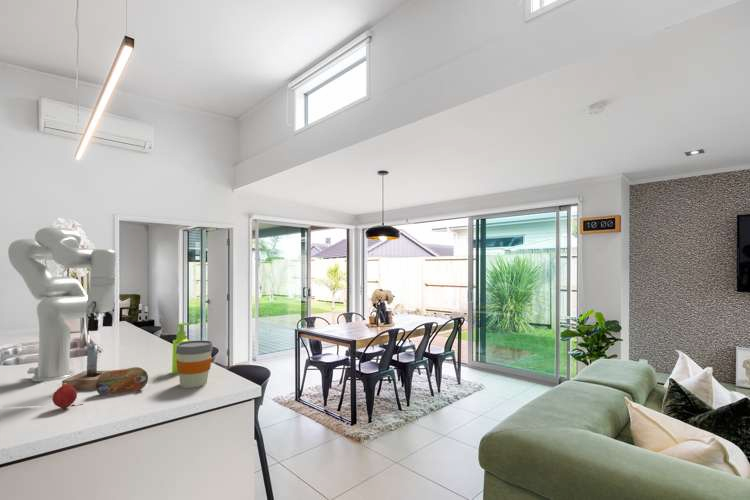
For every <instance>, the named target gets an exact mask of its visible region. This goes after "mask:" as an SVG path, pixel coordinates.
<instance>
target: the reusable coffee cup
mask: <svg viewBox="0 0 750 500" xmlns="http://www.w3.org/2000/svg"><path fill="white" fill-rule="evenodd" d="M213 350H214V348H213V342H212V341H211V340H203V339H202V340H200V339H198V340H190V341H188V342H182V343H179V344H177V349H176V353H177V370H178V373H179V374H178V375H179V385H180V387H182V388H187V389H188V388H189V389H193V388H198V387H202V386H204V385H206V384H207V383H208V378H209V377H208V376H209V372H210V369H211V366H212V361H213V360H212V359H213V357H212V352H213Z"/></svg>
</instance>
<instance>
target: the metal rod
mask: <svg viewBox="0 0 750 500" xmlns="http://www.w3.org/2000/svg"><path fill="white" fill-rule="evenodd" d="M98 347H99V346H98V345H97V344H92V345H87V351H86V353H87V354H86V356H87V358H86V371H87V375H86V377H96V376H97V371H98V350H99V349H98Z"/></svg>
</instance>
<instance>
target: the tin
mask: <svg viewBox="0 0 750 500" xmlns="http://www.w3.org/2000/svg"><path fill="white" fill-rule="evenodd" d="M106 371H107V372H105V373H103V374H102V375H101V376H100V377H99V378H98V380H97V382H96V392H97V393H98V395H100V396H104V397H105V396H108V395H113V394H121V393H127V392H133V391H137V392H139V391H141V390H142V389H144V388H145V386H146V385H147V383H148V381H149V375H148V372H147V371H146V370H145V369H143V368H141V367H137V366H133V367H128V368H122V369H121V368H120V369H113V370H112V371H111V370H106Z"/></svg>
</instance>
